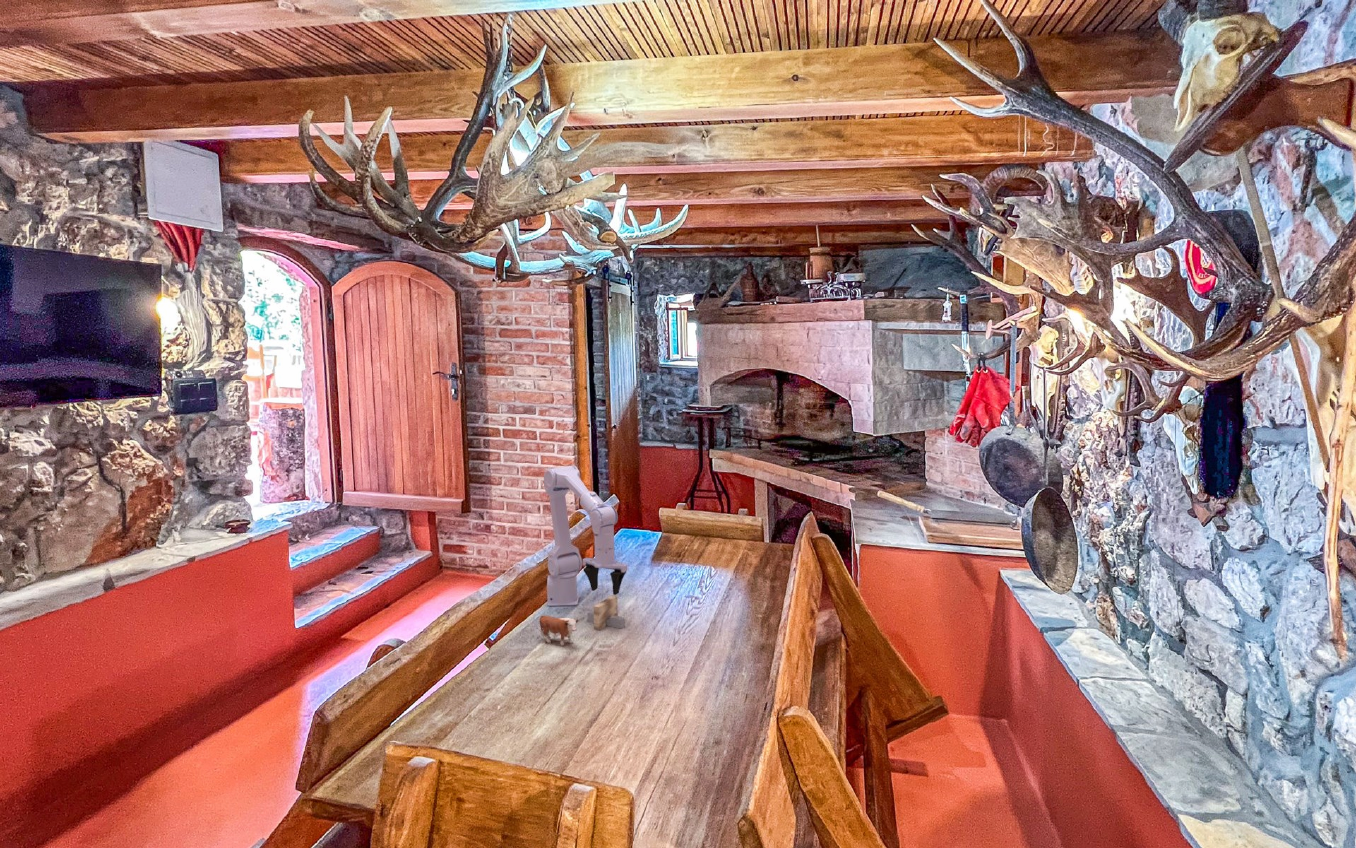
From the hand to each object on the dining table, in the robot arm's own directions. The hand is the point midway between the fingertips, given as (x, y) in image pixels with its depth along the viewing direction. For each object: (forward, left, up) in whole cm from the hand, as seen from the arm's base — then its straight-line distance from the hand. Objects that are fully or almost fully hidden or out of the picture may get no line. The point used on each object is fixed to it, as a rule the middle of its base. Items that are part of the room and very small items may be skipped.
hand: (605, 591), depth 223 cm
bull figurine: (-12, -13, -10) cm, 20 cm away
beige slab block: (0, 0, -10) cm, 10 cm away
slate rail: (0, 0, -10) cm, 10 cm away
